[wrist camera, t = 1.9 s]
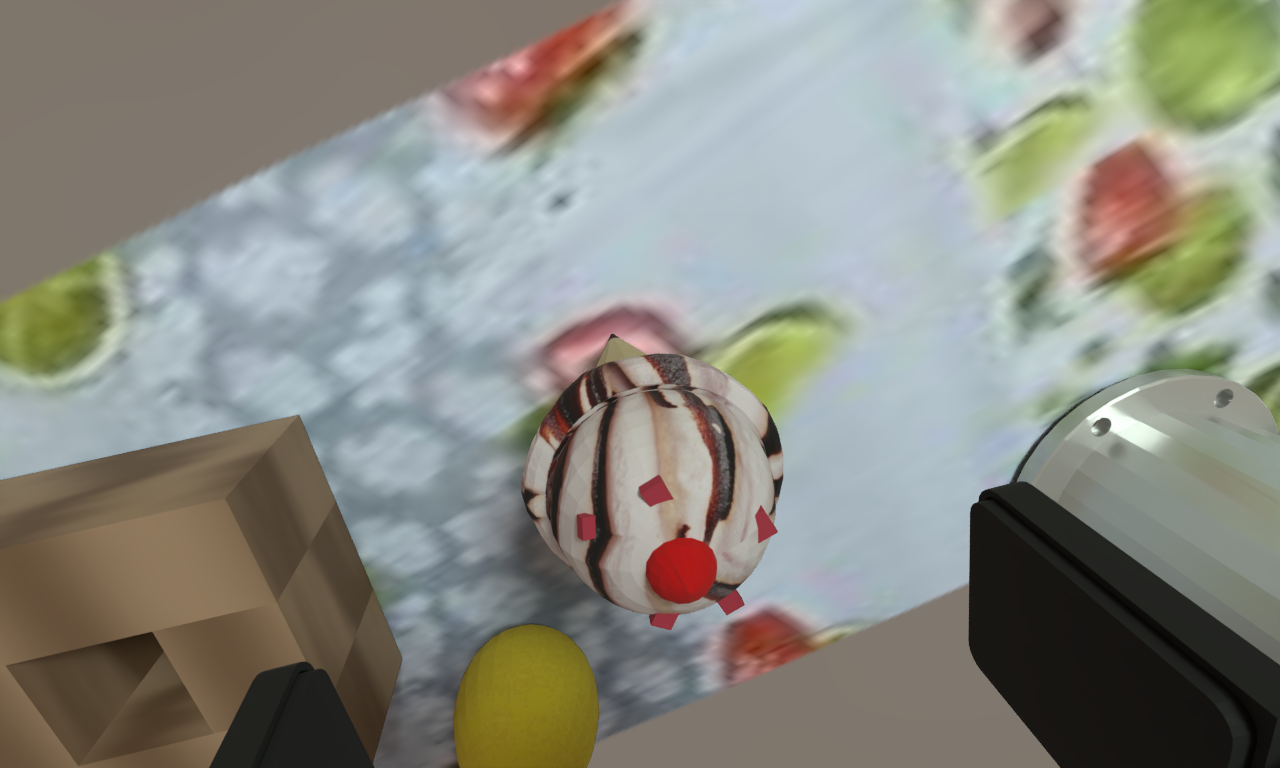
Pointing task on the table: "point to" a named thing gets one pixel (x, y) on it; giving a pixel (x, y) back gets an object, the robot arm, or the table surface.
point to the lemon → (527, 703)
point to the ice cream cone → (656, 482)
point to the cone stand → (177, 600)
